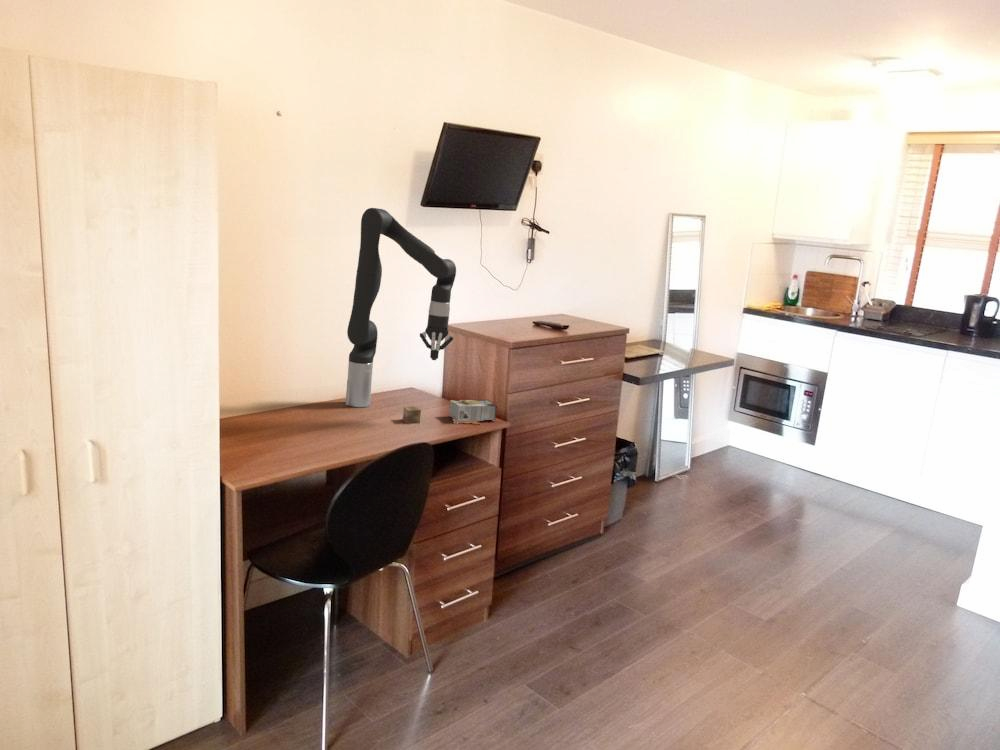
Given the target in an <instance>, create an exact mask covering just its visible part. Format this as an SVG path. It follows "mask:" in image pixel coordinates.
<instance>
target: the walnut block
mask: <svg viewBox="0 0 1000 750" xmlns="http://www.w3.org/2000/svg"><path fill="white" fill-rule="evenodd" d="M402 413H403V414H402V420H403V421H404V422H405V423H406V424H420V423H421V415H422V414H421V413H422V410H421V409H420V408H419V407H418V406H403V412H402Z"/></svg>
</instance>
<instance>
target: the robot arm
mask: <svg viewBox="0 0 1000 750" xmlns="http://www.w3.org/2000/svg"><path fill="white" fill-rule="evenodd" d="M381 235H383V236H385V237H386V238H389V239H391V240H392V241H394V242H395V243H396V244H397V245H398V246H399V247H400V248H401V249H402V250H403V251H404V252H405V254H407V255H408V256H409V257H410V258H412V259H413V260H415V261H416V262H417V263H418V264H420V265H421V266H423V268H424V269H426V271H427V272H428V273H429V274H430V275H432V276H434V277H435V278H436V282H435V284H434V285H433V286H432V288H431V293H430V294H431V295H430V302H429V306H428V307H429V308H428V316H427V325H426V328H425V331H422V332H420V333H419V337H420V338H421V341H422V342H423V344H424V345H425V346H426V348H427V349H429V350H430V356H429V358H430V359H431V361H437V360H438V358H439V353H440V351H441V350H444V349H445V348H447V346H448V345H449V344H450V343H451V342H452V341H453V340H454V337H453V336H452V335H450V334H449V330H448V329H449V328H448V327H449V321H450V319H449V318H450V311H451V310H450V309H451V307H450V306H451V304H450V303H451V296H452V288H453V286H454V283H455V279H456V277H457V276H456V275H457V266H456V263H455V262H454V261H453V260H451V259H448V258H445V259H443V258H441V257H440V256H439V255H438V254H436V252H435V250H434V249H433V247H431V246H429V245H428V244H426V242H423V241H422V240H421V239H420V238H418V237H417V236H415V235H414V234H413V233H412V232H410V231H408V230H407V229H406V228H405V227H403V225H401V224H400V223H399V221H397V220H396V219H395V217H394V216H392V215H391V213H389V212H388V211H387V210H386V209H383V208H376V207H369V208H367V209H366V210H365V211H364V212H363V214H362V215H361V221H360V241H359V242H360V245H359V246H360V247H359V252H358V253H359V254H358V261H357V269H356V276H355V283H354V284H355V285H354V292H353V302H352V307H351V313H350V317H349V322H348V326H347V330H346V332H347V334H346V335H347V339H348V340H349V342H350V344H352V345H353V348H352V350H351V351H350V352H349V355H348V365H347V366H348V367H347V379H346V380H347V381H346V390H345V391H346V392H345V406H349V407H352V408H353V407H354V408H367V407H370V405H371V393H372V381H373V366H374V357H375V355H376V351H377V343H378V327H377V324H376V323H374V321H372V320H370V319H371V318H370V317H371V311H372V307H373V305H374V303H375V301H376V299H377V297H378V296H377V295H378V294H379V292H380V288H381V282H382V274H383V267H382V261H381V257H380V251H379V246H380V245H379V244H380V239H381ZM427 337H428V338H429V340H430V343H429V342H428V339H427ZM444 339H445V341H444ZM442 341H444V342H443V343H442V344H441V342H442Z"/></svg>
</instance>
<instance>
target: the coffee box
mask: <svg viewBox="0 0 1000 750" xmlns="http://www.w3.org/2000/svg"><path fill="white" fill-rule="evenodd" d="M497 408H498V405H497V404H495V402H492V401H491V400H489V399H452V400H450V401H449V409H448V411H449V412H448V416H449V417H451V419H452V418H453V419H455V420H456V421H479V422H485V421H484V420H495V421H496V415H497V410H498V409H497ZM453 419H452V420H453Z"/></svg>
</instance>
